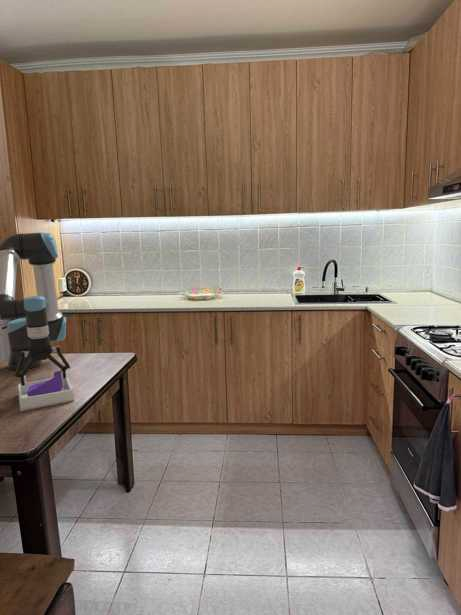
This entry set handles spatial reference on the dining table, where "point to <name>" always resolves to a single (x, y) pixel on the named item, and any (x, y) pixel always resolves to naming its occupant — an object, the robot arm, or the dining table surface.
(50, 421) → the dining table surface
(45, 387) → the bracket
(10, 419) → the dining table surface
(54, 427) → the dining table surface
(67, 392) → the bin
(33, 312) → the robot arm
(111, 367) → the dining table surface
